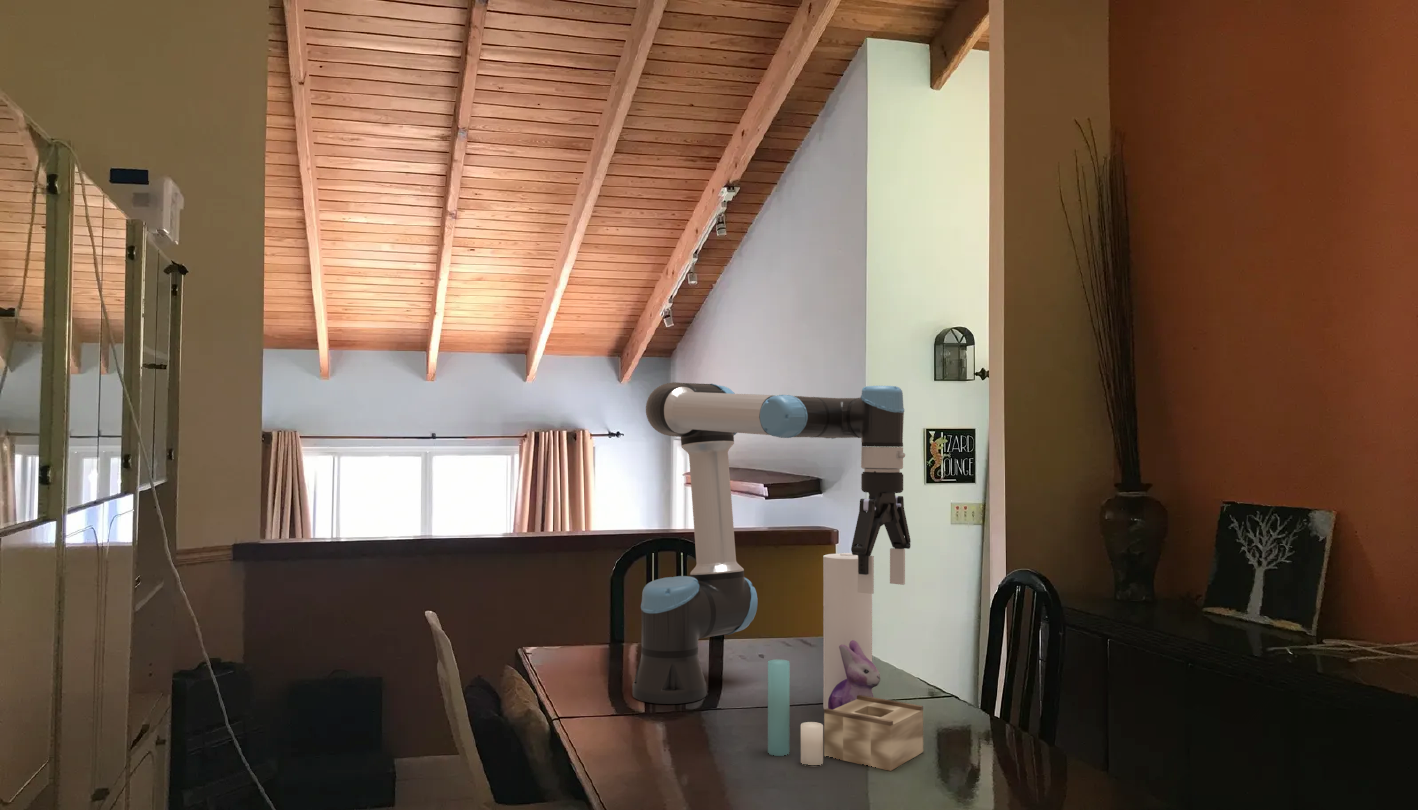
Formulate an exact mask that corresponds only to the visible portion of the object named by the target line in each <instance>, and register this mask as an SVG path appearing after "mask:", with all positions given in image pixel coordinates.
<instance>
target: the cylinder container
mask: <svg viewBox="0 0 1418 810" xmlns="http://www.w3.org/2000/svg"><path fill="white" fill-rule="evenodd" d="M822 559H823V563H822V565H823V567H822V569H823V571H822V572H823V580H822V581H823V582H822V583H823V584H822V585H823V592H822V593H823V595H822V597H823V603H822V605H823V611H822V612H823V614H822V615H823V618H822V619H823V624H822V626H823V633H822V635H823V644H822V645H823V652H822V653H823V656H822V657H823V658H822V659H823V660H822V661H823V672H822V673H823V679H822V681H823V693H822V694H823V699H822V700H823V710H824V709H828V700H829V697H830V695H831V693H832V691H833V689H834V688H835V686H836V685H837V684H839V683H840V682H841V681H843V680H845V679H847V676H846V673H845V669H844V665H843V661H842V657H841V653H840V649H839V646H840V645H846V646H847V647H849V643H850V641H851V640H855V641H856V642H857V643H858V644H859V646H860V648H861V649H862V651H863V653H864V655H865V656H866V657H867V658H868V659H869V660H870V661H871V662H872V663H873V594H868V593H858V555H853V554H852V552H841V553H828V554H825V555H823V558H822Z"/></svg>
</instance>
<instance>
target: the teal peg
mask: <svg viewBox="0 0 1418 810" xmlns="http://www.w3.org/2000/svg"><path fill="white" fill-rule="evenodd" d="M790 668H791V667H790V661H789V660H786V659H776V658H775V659H770V660H768V661H767V754H768V753H769V755H770V756H773V755H774V757H784V755H786V756H788V755H790V753H789V752H790V747H791V746H790V737H791V736H790V727H791V726H790V720H791V719H790V716H791V715H790V709H791V708H790V705H791V704H790V697H791V696H790V686H791V685H790V680H791V678H790ZM787 754H788V755H787Z"/></svg>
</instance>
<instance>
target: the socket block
mask: <svg viewBox="0 0 1418 810" xmlns="http://www.w3.org/2000/svg"><path fill="white" fill-rule="evenodd" d="M823 711H824V712H823V714H824V715H823V717H824V718H823V722H824V723H823V724H824V725H823V757H826V756H829V757H828V758H830V757H833V758H832V759H835V758H836V759H835V760H839V759H840V761H844V762H849V763H853V764H858V765H862V764H864V765H863V766H866V765H868V767H871V766H872V767H871V768H875V767H876V768H875V769H880V770H885V771H889V772H891V771H893V770H895V769H896V768H898V767H901V766H902V765H904V764H905V763H907V762H908V761H910V760H912V759H913V758H915V757H918V756H919V755H920V754H922V753H924V706H923V705H918V704H914V703H909V702H908V703H907V702H902V701H895V700H890V699H887V698H886V699H884V698H880V697H874V696H873V697H869V696H863V695H857V699H856V700H854V701H852V702H849V703H847V704H845V705H842V706H840V707H838V708H835V709H833V710H832V709H824V708H823Z"/></svg>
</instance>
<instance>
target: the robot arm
mask: <svg viewBox="0 0 1418 810" xmlns="http://www.w3.org/2000/svg"><path fill="white" fill-rule="evenodd" d="M645 414H646V415H645V416H646V419H647V421H648V423H649V424H650V426H651V428H653V429H654V430H655V431H657V432H658V433H660V434H662V435H664V436H669V437H677V438H680V444H681V448H682V449H683V450H684V451H685V452H686V453H687V454H688V459H689V463H688V464H689V474H690V488H691V501H692V503H691V504H692V517H693V518H692V519H693V533H694V543H695V545H694V546H695V548H694V549H695V560H696V561H695V562H696V565H695V567H694V568H693V569H692V570H691V571H690V573H689V575H690V576H687V575H678V576H677V575H676V576H673V577H672V576H669V577H668V576H667V577H663V578H662V577H660V578H658V579H654V580H652V581H650V582H648V583H647V584H645V586H644V587H643V589H642V593H641V595H642V596H641V603H640V609H641V652H640V653H641V657H640V659H639V663H638V665H637V666H638V667H637V670H636V672H635V675H634V676H635V678H634V680H633V682H632V697H633V698H634V699H636V700H638V701H640V702H644V703H649V704H651V703H652V704H659V705H666V704H667V705H675V704H677V705H678V704H687V703H693V702H696V701H700V700H702V699H704V698H705V697H706V696H707V693H708V692H707V681H706V679H705V677H704V673H703V672H704V671H703V668H702V665H701V662H700V658H699V639H705V638H710V637H715V636H722V635H723V636H724V635H725V636H726V635H732V634H734V633H738V632H741V631H743V630H745V629H746V628H748V627H749V625H750V624H751V623H752V622H753V621H754V618H755V616H756V613H757V612H758V611H757V610H758V603H759V602H758V600H759V599H758V593H757V590H756V588H755V586H753V582H752V581H751V580H749V579H748V578H747V577H745V569H744V568H743V567H742V566H741V565H740V564H739V563H738V561H737V556H736V555H737V554H736V543H735V542H736V541H735V531H734V530H735V528H734V527H735V526H734V515H733V503H732V502H733V501H732V491H731V490H732V489H731V488H732V486H731V475H730V462H729V461H730V459H729V450H731V448H732V447H733V445H734V444H735V437H734V436H735V435H736V434H750V435H763V436H764V435H765V436H772V437H776V438H783V439H789V438H790V439H791V438H811V439H812V438H813V439H814V438H817V439H818V438H819V439H820V438H824V439H831V440H833V439H848V438H849V439H851V438H853V439H854V438H858V439H861V451H860V452H861V453H860V454H861V455H860V456H861V460H860V462H861V463H860V465H861V466H860V467H861V469H863V470H864V471H862V473H861V474H860V475H861V481H860V483H861V485H860V486H861V488H860V489H861V491H862V492H863V493H868V498H860V500H859V509H858V510H859V511H858V516H857V520H856V524H855V528H854V529H855V530H854V533H853V534H854V535H853V540H852V541H851V546H850V547H851V548H850V550H851V553H852V554H853V555H858V593H868V594H872V595H874V593H875V592H874V591H875V590H874V588H875V587H874V585H875V583H874V582H875V581H874V580H875V579H874V578H875V576H874V573H875V570H874V568H875V566H874V565H875V563H874V562H875V561H874V560H875V559H874V557H875V556H874V555H872V553H873V549H874V547H875V544H876V541H877V538H878V535H879V533H880V529H881V527H882V526H884V527H885V530H886V533H887V536H888V538H889V541H890V543H891V548H889V584H892V585H893V584H894V585H903V586H904V585H906V549H907V550H910V549H911V545H912V544H911V542H912V541H911V536H910V535H911V534H910V531H909V526H908V522H907V517H906V511H905V502H904V496H902V495H896V494H901V493H903V491H904V474H903V472H901V470H902V469H903V468H904V458H905V457H906V453H904V442H903V439H904V438H903V437H904V418H905V416H904V415H905V408H904V395H903V390H902V388H900V387H899V386H897V385H896V386H895V385H867V386H866V385H865V386H864V387H863V388H862V389H861V395H860V397H844V398H843V397H822V396H821V397H820V396H802V395H790V394H779V395H773V394H753V393H750V394H748V393H747V394H746V393H735V392H734V391H733V390H732V389H731V388H729V387H727V386H724V385H718V384H715V383H695V382H694V383H692V382H678V381H677V382H674V381H671V382H667V383H663V384H661V385H659V386H658V387H656V388H655V389H653V391H652V392H651V393H650V394H649V396H648V398H647V400H646V404H645Z"/></svg>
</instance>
